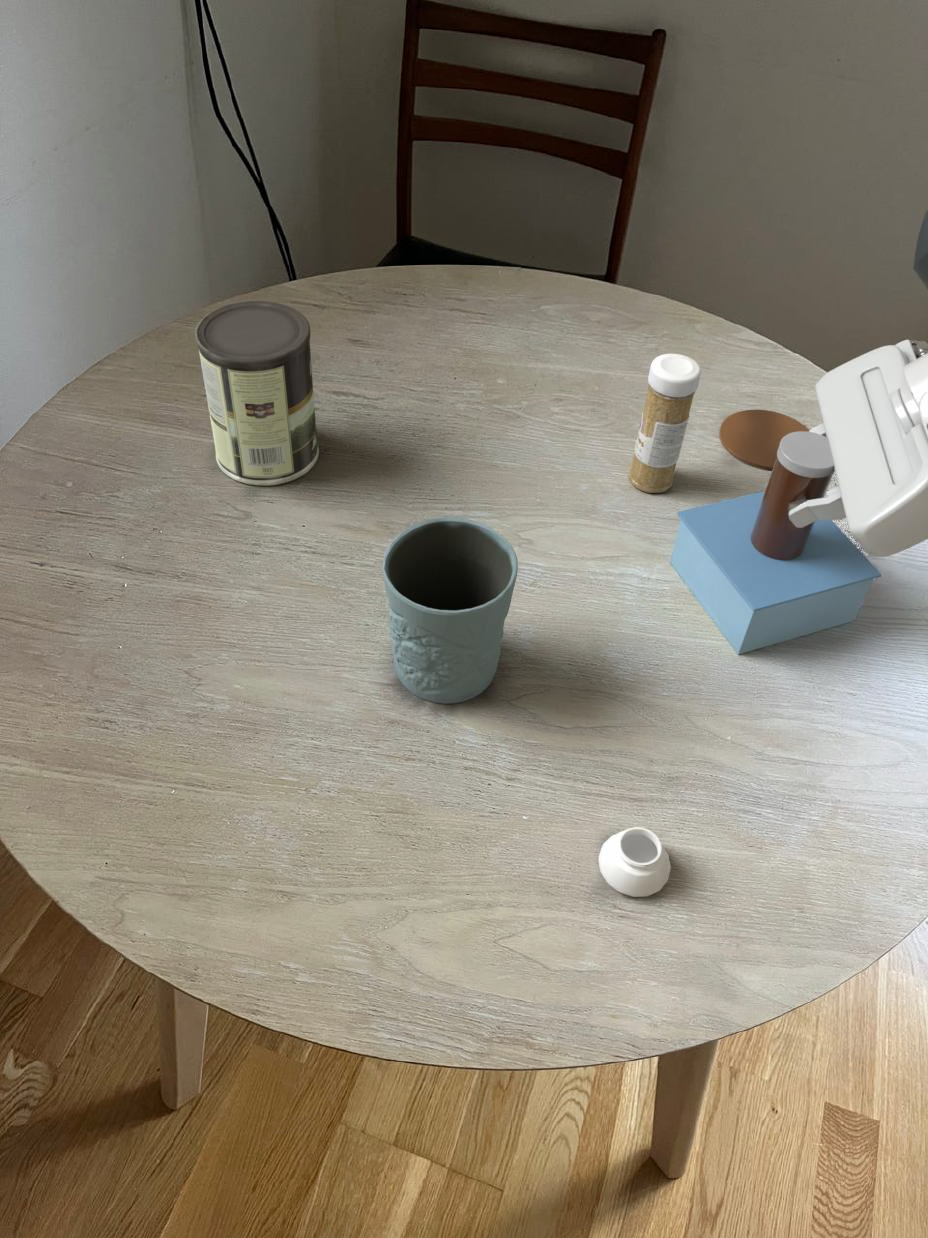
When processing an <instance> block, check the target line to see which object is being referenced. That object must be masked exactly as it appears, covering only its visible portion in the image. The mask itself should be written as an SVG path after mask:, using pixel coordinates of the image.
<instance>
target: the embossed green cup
mask: <svg viewBox="0 0 928 1238" xmlns="http://www.w3.org/2000/svg"><path fill="white" fill-rule="evenodd" d="M518 571H519V565H518V557H517V554H516V551H515V549H514V548H513V545H512V544H511V543H510V542H509V541H508V540H507V538H505V537H504V536H503V534H501V533H500V532H498V531H496V530H495V529H494V528H492V527H490V526H488V525H486V524H484V523H481V522H479V521H476V520H471V519H467V518H461V517H447V516H446V517H445V516H444V517H436V518H430V519H426V520H422V521H420V522H416V523H415V524H412V525H410V526H408V527H407V528H405V529H404V530H403V531H401V532H400V533H399V534H397V535H396V536H395V537H394V538H393V539H392V540H391V541H390V543H389V544H388V545H387V547H386V549H385V551H384V554H383V559H382V574H383V582H384V588H385V594H386V597H387V605H388V606H389V608H390V609H389V612H388V624H389V633H390V637H391V650H392V661H393V668H394V672H395V674H396V676H397V678H398V680H399V681H400V683H401V685H402V686H403V687H404V688H405V689H406V690H408V692H410V693H411V694H412V695H414V696H416V697H418V698H420V699H421V700H425V701H428V702H430V703H431V702H432V703H436V704H442V705H443V704H444V705H446V704H458V703H464V702H467V701H469V700H471V699H474V698H476V697H477V696H479V695H481V694H482V693H483V692H484V691H485V690H486V689H487V688H488V687H489V686H490V684H491V683H492V682H493V680H494V677H495V675H496V672H497V667H498V663H499V658H500V654H501V651H502V643H501V641H502V639H503V637H504V629H505V628H504V626H505V621H506V618H507V616H508V613H509V611H510V607H511V604H512V603H511V601H512V598H513V593H514V588H515V584H516V580H517V578H518Z"/></svg>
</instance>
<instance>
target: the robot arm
mask: <svg viewBox="0 0 928 1238" xmlns="http://www.w3.org/2000/svg"><path fill="white" fill-rule="evenodd" d="M913 270H914V272H915V273H916V275H917V276H918V277H919V279H920V280H921V282H922V283H923V285H924V286H925V288H926V289H927V290H928V209H927V210H926V212H925V214H924V217H923V219H922V223H921V225H920V229H919V233H918V236H917V241H916V246H915V252H914V259H913ZM814 392H815V395H816V399H817V400H816V401H817V404H818V408H819V412H820V416H821V420H822V422H820V423H819V424H817V425H816V426H814V427H812V428H811V429H810V430H809V432H813V433H817V434H820V435H823V436H825V437H827V438H828V440H829V444H830V448H831V452H832V456H833V460H834V470H835V472H834V474H835V477H836V481H837V486H834V487H833V488H831V489H829V490H827V492H826V496H825V497H824V498H819V499H812V500H809V499H808V498H807V497H806V495H803V496H801V497H799V498H797V499H796V500H795V501H791V502H789V503H788V505H787V509H788V515H789V519H790V520H791V522H792V523H793V524H794V525H795V526H796V527H797V528H802V527H805V526H807V525H809V524H811V523H813V522H815V521H817V520H832V521H841V520H844V519H846V522H847V527H848V530H849V533H850V534H851V535H852V537H853V538H854V541H856V543H857V544H858V545H859V547H861V548H862V549H863V551H864V552H865V554H867V555H868V556H871V557H878V558H887V557H891V556H894V555H896V554H900V553H901V552H903V551H906V550H908V549H909V548H912V547H914V546H917V545H918V544H920V543H923V542H924V541H926V540H928V343H927V342H926V341H925V340H921V341H919V340H915V339H911V340H910V339H904V340H902V341H900V342H898V343H895V344H889V345H887V344H886V345H883V346H880V347H878V348H874V349H872V350H870V351H868V352H866V353H863V354H861V355H859V356H857V357H855V358H852V359H851V360H848V361H847V362H845V363H843V364H840V365H839V366H836V367H835V368H833V369H831V370H829V371H827V372H826V373H824V375H823V376H822V377H820V379H819V380H818V381H817V382H816V384H815V385H814Z"/></svg>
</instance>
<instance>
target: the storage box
mask: <svg viewBox="0 0 928 1238" xmlns="http://www.w3.org/2000/svg"><path fill="white" fill-rule="evenodd" d="M764 493H765V490H763V491H759V492H754V493H750V494H746V495H742V496H738V497H734V498H729V499H725V500H722V501H721V500H720V501H716V502H714V503H713V502H712V503H709V504H704V505H700V506H695V507H692V508H688V509H683V510H679V511H677V513H676V515H677V516H678V517H679V519H680V521H679V525H678V528H677V533H676V536H675V540H674V543H673V547H672V551H671V555H670V558H669V564H670V565H671V567H672V568H673V569H674V570H675V572H676V573H677V574H678V576H679V577H680V579H681V580H682V581H683V582H684V584H685V585H686V587H687V588H688V589H689V591H690V592H691V593H692V595H693V596H694V597H695V599H696V600H697V601H698V603H699V604H700V606H701V607H702V608H703V609H704V611H705V613H707V615H708V616H709V618H710V619H711V620H712V621H713V623H714V624H715V626H716V627H717V628H718V629H719V631H720V632H721V633H722V635H723V636H724V638H725V639H726V641H727V642H728V643H729V644H730V646H731V647H732V649H733V650H734V651H735V653H736V654H737V655H741V654H745V653H748V652H752V651H756V650H760V649H762V648H766V647H770V646H773V645H776V644H779V643H783V642H786V641H791V640H793V639H796V638H800V637H804V636H807V635H810V634H814V633H818V632H821V631H824V630H828V629H832V628H835V627H838V626H842V625H845V624H848V623H852V622H854V621H855V620H856V618H857V616H858V614H859V611H860V610H861V607H862V605H863V603H864V601H865V599H866V597H867V594H868V592H869V590H870V588H871V586H872V584H873V581H874V579H878V578H882V575H883V574H882V572H880V571H879V570H878V569H877V567H876V566H875V565H874V563H872V562H871V561H870V560H869V559H868V557H867V556H866V555H865V554H864V553H863V552H862V551H861V550H860V549H859V548H858V547H857V545H856V544H855V543H853V541H852V540H851V539H850V538H849V537H848V536H847V535H846V534H845V533H844V532H843V530H842V529H841V528H840V527H839V526H838V525H837V524H836V523H835V522H834V520H817V521H815V523H814V525H813V528H812V530H811V533H810V536H809V538H808V541H807V543H806V546H805V548H804V551H803V553H802V554H801V555H800V556H798V557H797V558H795V559H791V560H776V559H772V558H769V557H767V556H765V555H763V554H761V553H760V552H759V551H757V550H756V549H755V548H754V546H753V544H752V542H751V533H752V530H753V527H754V524H755V520H756V517H757V514H758V511H759V508H760V505H761V502H762V499H763V496H764Z"/></svg>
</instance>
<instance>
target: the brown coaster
mask: <svg viewBox="0 0 928 1238" xmlns="http://www.w3.org/2000/svg"><path fill="white" fill-rule="evenodd" d="M798 431H807V432H809V431H810V430H809V428H807V426H805V425H804V424H803V423H801V422H800V421H798V420H797V419H795V418H793V417H791V416H789V415H787V414H784V413H781V412H777V411H773V410H768V409H746V410H741V411H737V412H734V413H732V414H730V415H728V416H727V417H726V418H725V419H724V420H723V421H722V423H721V425H720V428H719V432H718V433H719V434H718V436H719V440H720V443H721V444H722V447H723V448H724V449H725V450H726V452H727V453H729V454H730V455H731V456H732V457H734V458H735V459H736V460H739V462H741V463H744V464H747V465H749V466H751V467H754V468H756V469H757V468H758V469H762V470H767V471H772V469H773V466H774V463H775V460H776V457H777V450H778V447H779V444H780V441H781V439H782V438H783V437H784V436H785V435H787V434H789V433H792V432H798Z"/></svg>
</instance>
